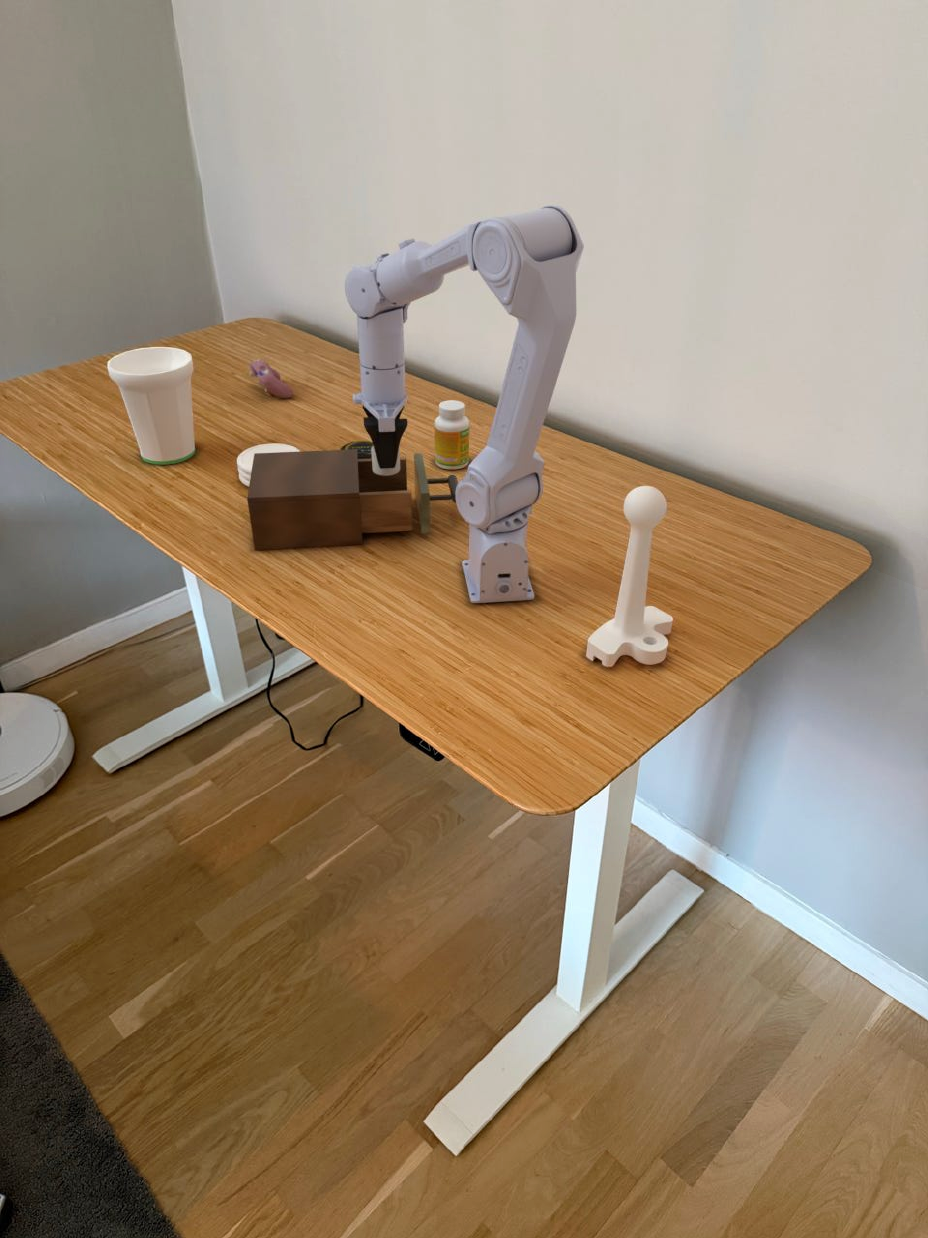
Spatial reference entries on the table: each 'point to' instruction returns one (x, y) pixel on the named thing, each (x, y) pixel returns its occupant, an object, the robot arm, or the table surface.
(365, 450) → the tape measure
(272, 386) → the pink animal figurine
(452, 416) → the supplement bottle
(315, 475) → the cabinet
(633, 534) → the joystick
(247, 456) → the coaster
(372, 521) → the drawer
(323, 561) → the table surface
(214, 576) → the table surface
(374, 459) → the glue bottle
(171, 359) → the cup
